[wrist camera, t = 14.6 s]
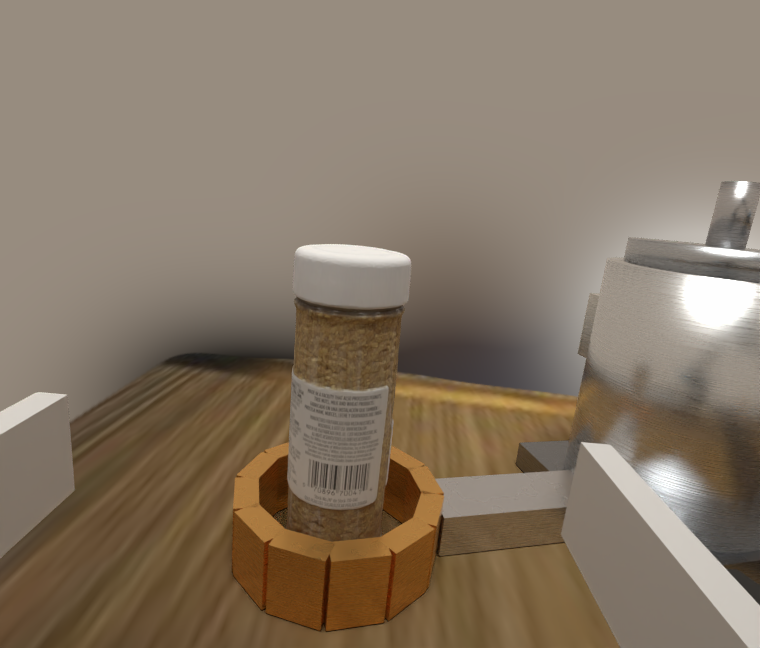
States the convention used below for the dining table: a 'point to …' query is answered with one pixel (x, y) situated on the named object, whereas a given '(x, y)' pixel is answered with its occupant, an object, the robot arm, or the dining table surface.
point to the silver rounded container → (558, 458)
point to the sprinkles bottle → (343, 387)
